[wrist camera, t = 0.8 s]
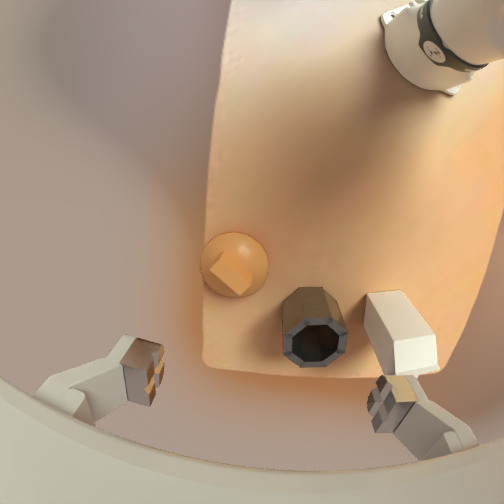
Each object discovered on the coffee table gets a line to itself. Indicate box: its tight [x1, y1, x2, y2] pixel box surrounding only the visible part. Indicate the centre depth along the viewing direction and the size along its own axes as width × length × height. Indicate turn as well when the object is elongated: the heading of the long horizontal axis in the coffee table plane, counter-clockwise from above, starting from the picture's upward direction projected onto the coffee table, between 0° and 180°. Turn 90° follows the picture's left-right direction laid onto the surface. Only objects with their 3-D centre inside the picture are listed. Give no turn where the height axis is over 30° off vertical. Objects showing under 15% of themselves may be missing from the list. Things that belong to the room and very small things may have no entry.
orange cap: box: [200, 232, 269, 298], centre depth 46 cm, size 11×11×7 cm
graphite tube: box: [282, 287, 348, 368], centre depth 46 cm, size 10×10×10 cm
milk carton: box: [363, 290, 440, 378], centre depth 41 cm, size 7×7×19 cm
